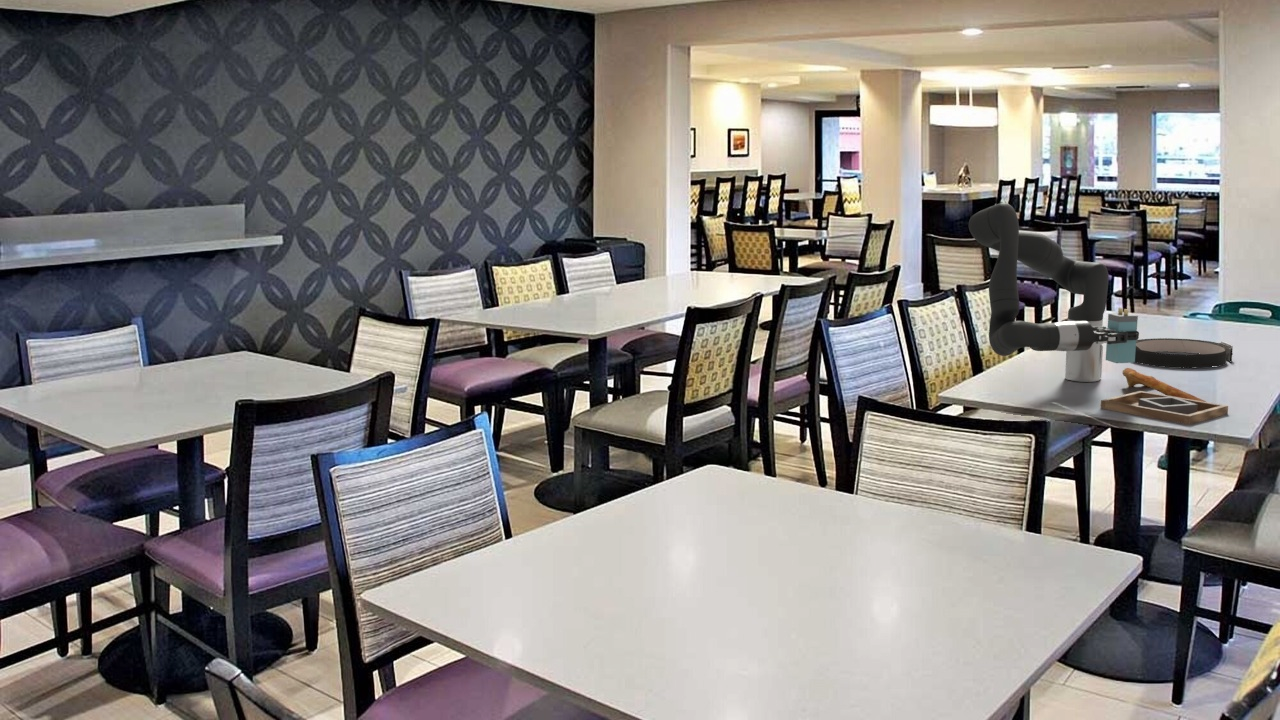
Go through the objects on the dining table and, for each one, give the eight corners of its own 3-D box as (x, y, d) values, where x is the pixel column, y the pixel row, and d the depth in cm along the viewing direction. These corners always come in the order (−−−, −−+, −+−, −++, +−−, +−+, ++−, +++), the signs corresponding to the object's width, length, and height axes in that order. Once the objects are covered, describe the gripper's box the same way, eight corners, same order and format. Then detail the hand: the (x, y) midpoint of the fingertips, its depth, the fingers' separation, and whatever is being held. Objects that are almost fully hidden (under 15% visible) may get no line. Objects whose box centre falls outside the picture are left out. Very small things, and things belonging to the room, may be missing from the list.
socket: (1138, 408, 285) (1138, 398, 285) (1172, 406, 287) (1173, 396, 286) (1161, 416, 276) (1162, 406, 275) (1197, 414, 277) (1197, 404, 277)
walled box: (1139, 400, 296) (1140, 390, 296) (1227, 415, 278) (1228, 405, 277) (1100, 409, 287) (1101, 400, 286) (1188, 426, 268) (1189, 416, 268)
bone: (1217, 413, 283) (1203, 379, 281) (1187, 429, 284) (1172, 395, 282) (1152, 382, 316) (1139, 351, 313) (1125, 396, 316) (1111, 365, 314)
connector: (1105, 359, 294) (1108, 307, 292) (1123, 359, 295) (1126, 307, 292) (1116, 363, 289) (1119, 310, 287) (1134, 362, 290) (1138, 309, 288)
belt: (1252, 368, 336) (1253, 351, 335) (1150, 370, 336) (1151, 353, 335) (1205, 351, 365) (1206, 335, 364) (1111, 353, 365) (1112, 337, 364)
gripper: (1085, 325, 281) (1149, 323, 284) (1055, 317, 295) (1116, 315, 297) (1084, 355, 282) (1147, 352, 285) (1054, 346, 296) (1114, 343, 299)
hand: (1131, 333), depth 291 cm, fingers closed on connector, 5 cm apart
